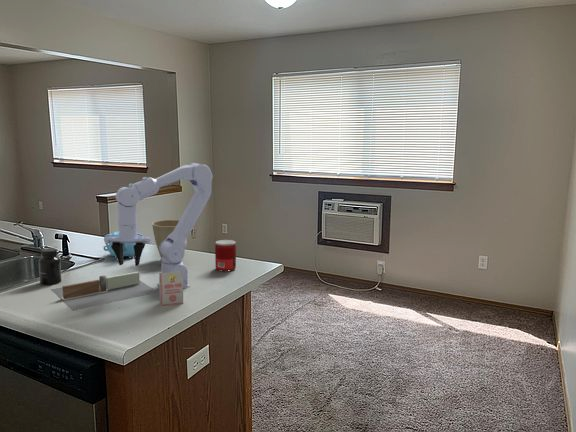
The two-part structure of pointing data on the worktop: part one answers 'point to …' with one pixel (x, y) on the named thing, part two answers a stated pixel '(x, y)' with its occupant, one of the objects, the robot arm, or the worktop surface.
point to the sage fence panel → (122, 280)
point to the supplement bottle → (49, 267)
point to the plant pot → (163, 230)
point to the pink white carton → (171, 288)
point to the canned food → (225, 255)
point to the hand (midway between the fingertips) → (129, 264)
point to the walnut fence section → (84, 288)
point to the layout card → (105, 296)
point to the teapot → (127, 247)
